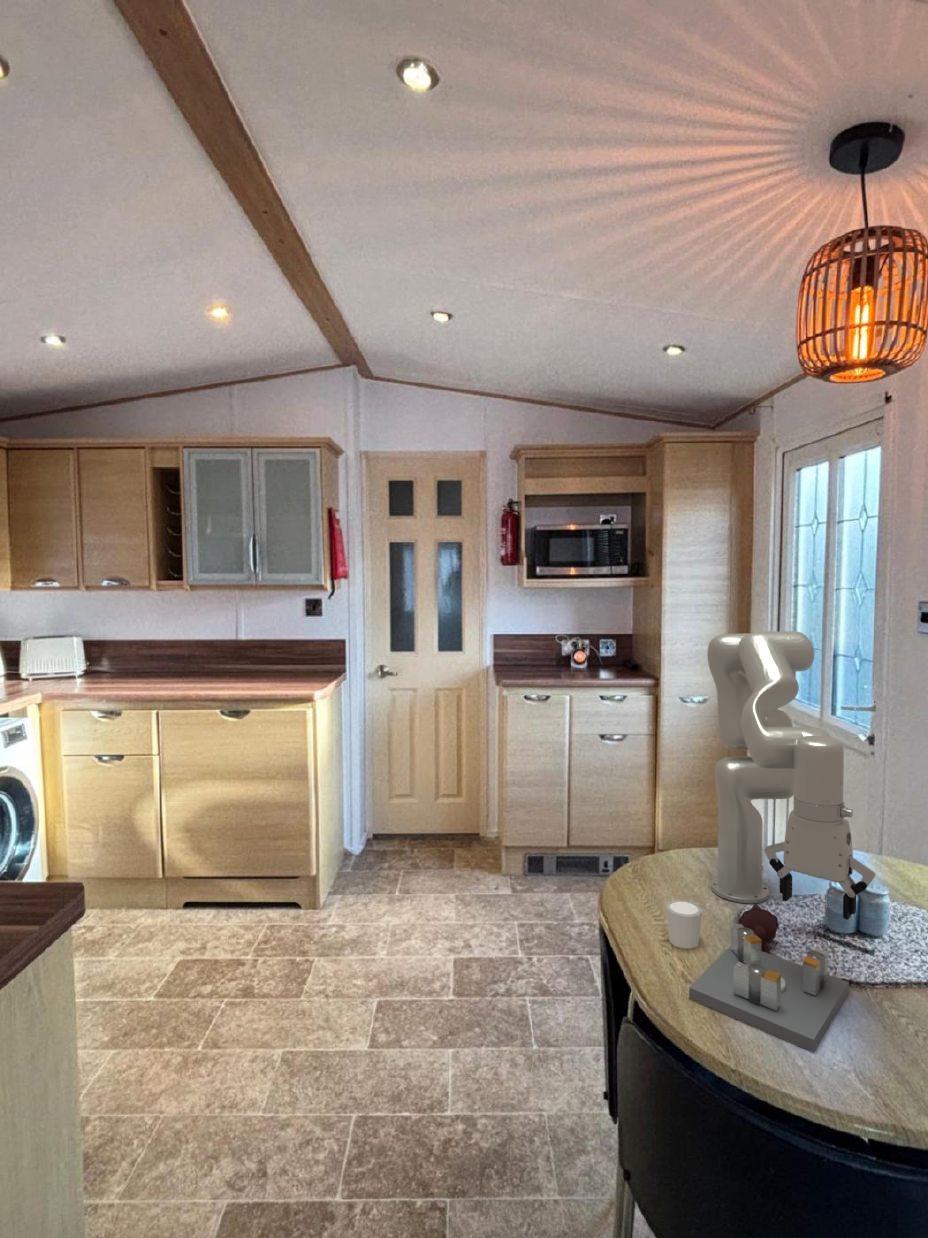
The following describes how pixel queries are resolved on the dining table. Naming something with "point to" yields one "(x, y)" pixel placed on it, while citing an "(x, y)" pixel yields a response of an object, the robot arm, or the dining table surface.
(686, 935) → the white cylinder
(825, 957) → the grey blocks with cylinder
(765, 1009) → the plate
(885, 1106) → the dining table surface
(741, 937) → the grey upright block
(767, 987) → the grey blocks with cylinder
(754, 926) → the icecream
